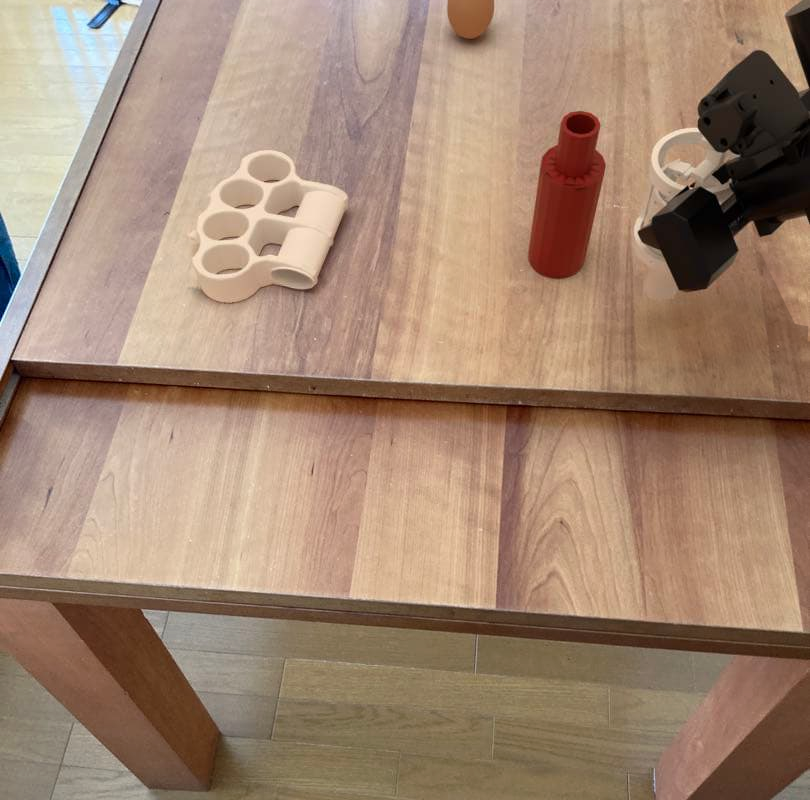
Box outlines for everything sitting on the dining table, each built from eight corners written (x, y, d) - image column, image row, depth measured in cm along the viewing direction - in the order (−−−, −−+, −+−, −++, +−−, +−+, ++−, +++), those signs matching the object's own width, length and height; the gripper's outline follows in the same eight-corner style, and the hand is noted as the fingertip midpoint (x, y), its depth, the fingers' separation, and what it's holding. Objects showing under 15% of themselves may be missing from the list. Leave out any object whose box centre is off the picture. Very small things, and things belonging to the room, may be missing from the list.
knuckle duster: (306, 319, 79) (167, 292, 81) (359, 190, 87) (230, 168, 89) (301, 295, 76) (156, 267, 78) (356, 163, 84) (223, 141, 86)
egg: (454, 53, 96) (456, -8, 90) (441, 26, 98) (441, -36, 92) (498, 44, 96) (503, -18, 90) (483, 17, 99) (487, -46, 92)
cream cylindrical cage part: (715, 283, 74) (770, 140, 61) (669, 331, 72) (716, 194, 59) (651, 246, 77) (690, 101, 63) (604, 291, 75) (635, 151, 61)
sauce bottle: (576, 232, 83) (604, 97, 70) (590, 274, 81) (622, 141, 67) (522, 240, 83) (540, 106, 69) (535, 282, 81) (556, 151, 67)
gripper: (881, -26, 54) (696, 64, 68) (714, 116, 49) (549, 183, 62) (927, 133, 59) (745, 188, 72) (779, 280, 53) (612, 308, 67)
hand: (666, 213), depth 68 cm, fingers closed on cream cylindrical cage part, 7 cm apart
